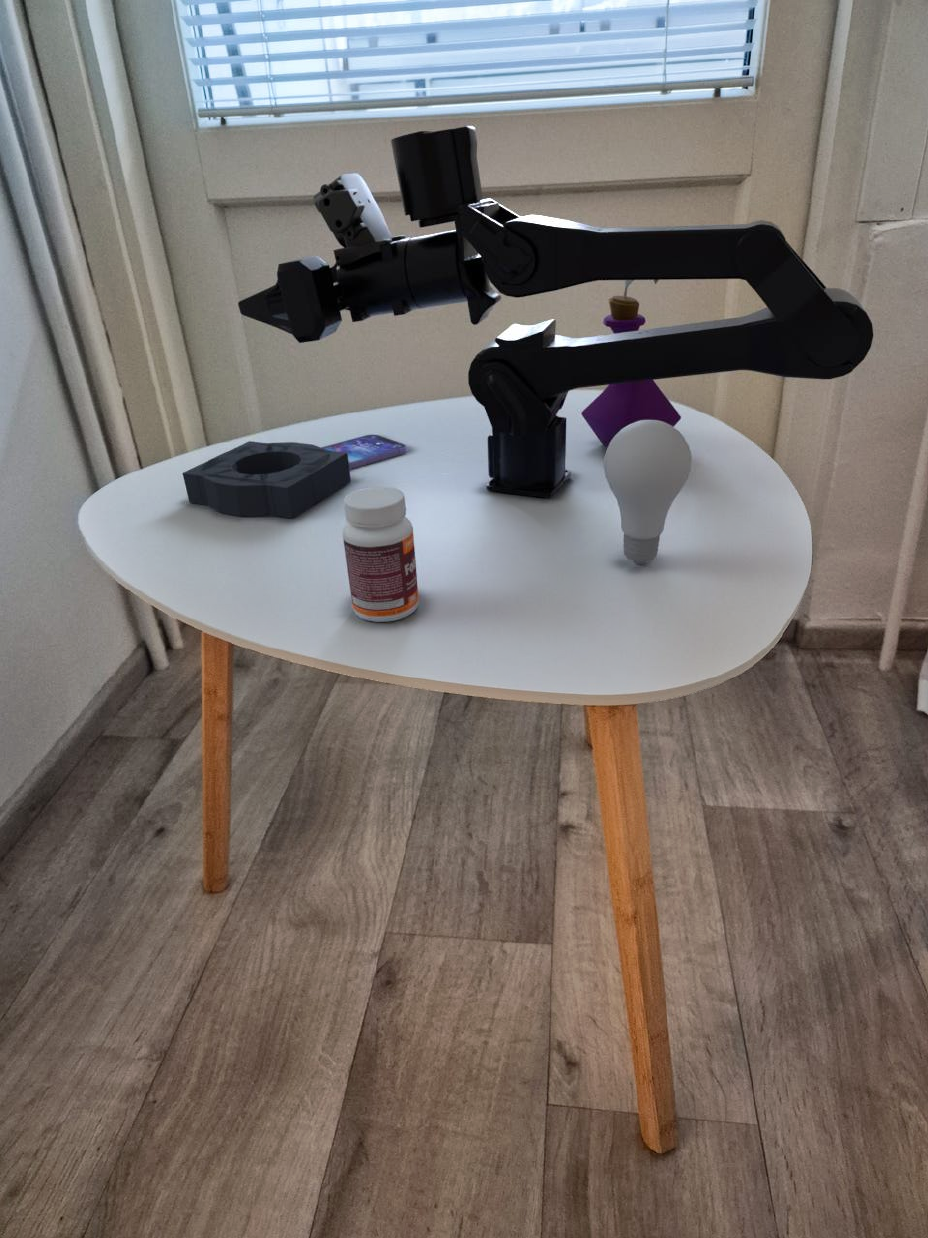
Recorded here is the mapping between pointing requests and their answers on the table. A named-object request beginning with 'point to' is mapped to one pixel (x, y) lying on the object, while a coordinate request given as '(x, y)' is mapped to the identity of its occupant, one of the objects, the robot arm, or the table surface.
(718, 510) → the table surface
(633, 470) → the lightbulb
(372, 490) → the pill bottle
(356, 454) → the smartphone
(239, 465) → the dark grey flat block
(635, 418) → the purple potion bottle
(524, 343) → the robot arm
